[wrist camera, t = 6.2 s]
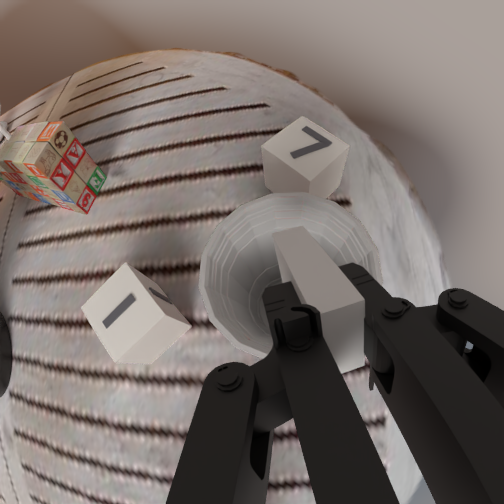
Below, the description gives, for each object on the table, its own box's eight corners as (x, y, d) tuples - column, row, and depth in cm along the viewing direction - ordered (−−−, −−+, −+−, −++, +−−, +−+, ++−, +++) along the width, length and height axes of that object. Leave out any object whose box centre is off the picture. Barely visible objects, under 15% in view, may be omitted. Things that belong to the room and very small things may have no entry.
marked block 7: (265, 186, 32) (260, 144, 25) (301, 156, 33) (303, 113, 27) (305, 219, 30) (310, 180, 24) (340, 185, 31) (351, 144, 25)
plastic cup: (326, 242, 29) (350, 172, 18) (354, 346, 25) (405, 334, 14) (222, 264, 29) (187, 204, 18) (241, 372, 25) (211, 381, 14)
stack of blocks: (18, 196, 38) (-24, 160, 26) (34, 167, 40) (-3, 128, 28) (88, 215, 34) (32, 163, 22) (108, 176, 36) (63, 119, 24)
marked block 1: (119, 320, 28) (79, 307, 21) (158, 282, 29) (126, 260, 23) (151, 364, 26) (113, 362, 19) (193, 325, 27) (166, 313, 21)
